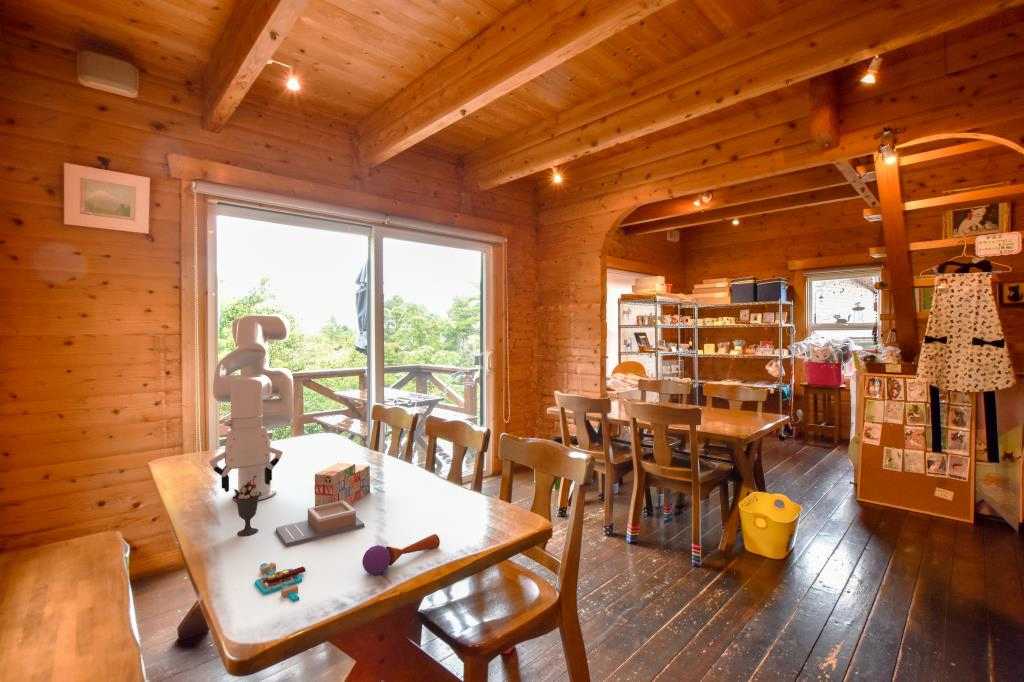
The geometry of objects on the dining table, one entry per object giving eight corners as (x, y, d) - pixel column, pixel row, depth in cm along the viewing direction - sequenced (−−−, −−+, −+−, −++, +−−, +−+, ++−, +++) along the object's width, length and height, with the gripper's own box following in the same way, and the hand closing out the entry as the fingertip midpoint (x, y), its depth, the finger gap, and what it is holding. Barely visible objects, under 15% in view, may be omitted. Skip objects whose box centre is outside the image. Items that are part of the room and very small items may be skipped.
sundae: (267, 529, 131) (267, 474, 130) (246, 539, 124) (246, 481, 124) (249, 525, 133) (248, 472, 132) (227, 535, 126) (227, 479, 126)
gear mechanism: (287, 560, 114) (244, 574, 107) (287, 537, 114) (244, 550, 107) (323, 593, 99) (275, 611, 93) (322, 567, 99) (275, 584, 93)
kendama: (445, 535, 118) (374, 557, 103) (440, 558, 118) (369, 583, 103) (430, 524, 122) (359, 544, 107) (426, 546, 122) (355, 569, 107)
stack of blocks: (353, 491, 162) (353, 455, 162) (370, 492, 161) (370, 456, 161) (314, 514, 141) (314, 473, 141) (333, 516, 140) (333, 474, 140)
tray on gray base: (275, 531, 129) (275, 513, 129) (349, 514, 141) (349, 497, 141) (286, 547, 120) (286, 528, 119) (364, 527, 132) (364, 509, 132)
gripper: (210, 428, 119) (211, 497, 119) (285, 421, 130) (285, 484, 130) (207, 425, 125) (207, 490, 125) (278, 418, 136) (279, 478, 136)
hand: (247, 487), depth 128 cm, fingers open, 9 cm apart
